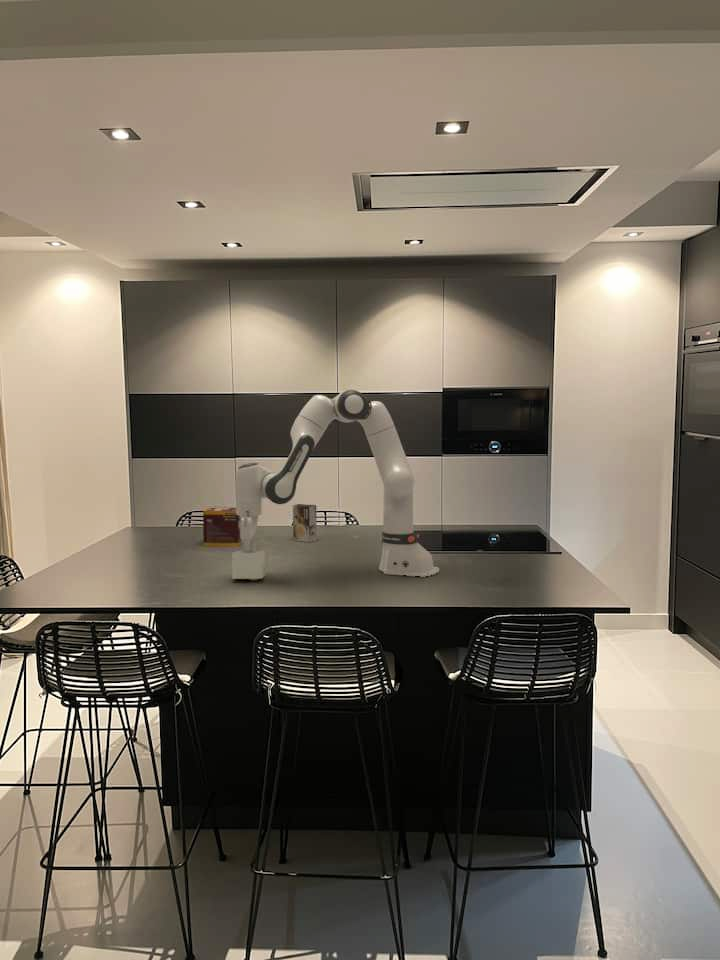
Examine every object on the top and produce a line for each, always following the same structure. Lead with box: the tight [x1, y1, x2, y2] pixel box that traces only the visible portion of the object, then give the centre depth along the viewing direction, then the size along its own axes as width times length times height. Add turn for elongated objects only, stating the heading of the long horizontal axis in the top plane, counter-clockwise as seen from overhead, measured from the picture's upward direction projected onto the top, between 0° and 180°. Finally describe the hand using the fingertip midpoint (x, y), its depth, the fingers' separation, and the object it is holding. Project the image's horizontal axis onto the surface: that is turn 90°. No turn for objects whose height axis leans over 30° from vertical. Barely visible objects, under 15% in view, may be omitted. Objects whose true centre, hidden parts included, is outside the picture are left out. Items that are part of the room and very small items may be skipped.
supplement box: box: [202, 506, 243, 547], centre depth 324 cm, size 10×15×16 cm
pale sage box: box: [231, 540, 266, 580], centre depth 261 cm, size 10×10×13 cm
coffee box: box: [292, 503, 318, 543], centre depth 333 cm, size 9×6×16 cm
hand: (248, 548), depth 261 cm, fingers closed on pale sage box, 4 cm apart
